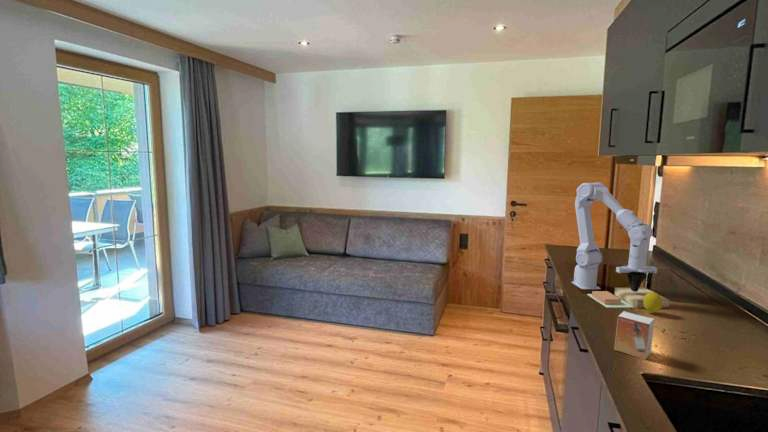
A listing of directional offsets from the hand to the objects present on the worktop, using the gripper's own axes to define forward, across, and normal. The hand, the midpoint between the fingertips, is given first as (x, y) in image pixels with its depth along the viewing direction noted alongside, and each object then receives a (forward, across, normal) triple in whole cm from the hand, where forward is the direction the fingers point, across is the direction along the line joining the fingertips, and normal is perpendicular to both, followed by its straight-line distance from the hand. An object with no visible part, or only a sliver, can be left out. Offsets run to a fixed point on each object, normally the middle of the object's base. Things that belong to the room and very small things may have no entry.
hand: (634, 290), depth 156 cm
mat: (+4, -9, 0) cm, 10 cm away
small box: (+4, -26, -40) cm, 48 cm away
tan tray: (+4, +3, 0) cm, 5 cm away
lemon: (+4, -1, -12) cm, 13 cm away
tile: (+2, -11, 0) cm, 11 cm away
